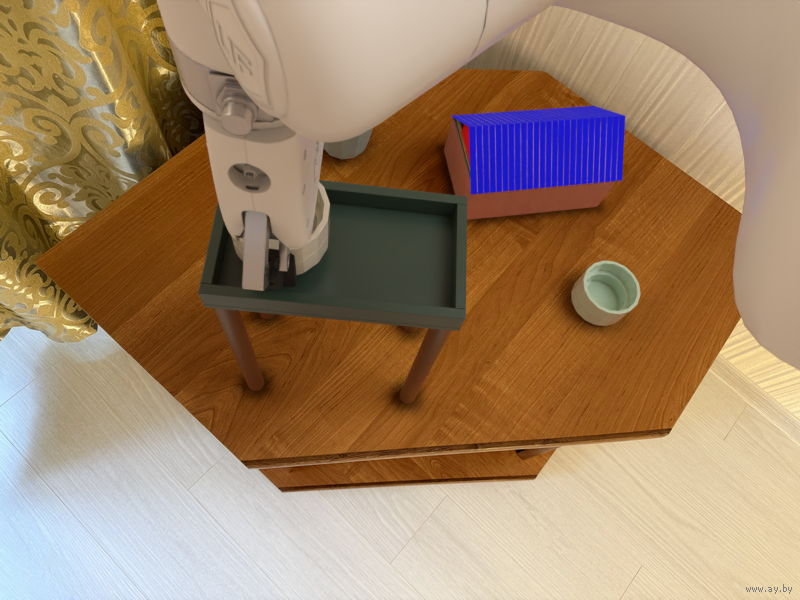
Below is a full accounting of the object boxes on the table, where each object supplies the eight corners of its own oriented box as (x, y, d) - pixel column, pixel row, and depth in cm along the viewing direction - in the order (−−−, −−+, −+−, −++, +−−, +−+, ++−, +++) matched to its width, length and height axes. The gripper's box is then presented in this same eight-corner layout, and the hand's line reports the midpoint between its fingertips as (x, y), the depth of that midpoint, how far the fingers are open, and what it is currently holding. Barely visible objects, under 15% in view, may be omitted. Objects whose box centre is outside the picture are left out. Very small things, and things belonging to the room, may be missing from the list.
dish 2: (625, 329, 74) (643, 316, 70) (571, 324, 74) (585, 310, 70) (620, 279, 77) (637, 263, 73) (568, 274, 76) (581, 257, 72)
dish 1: (323, 285, 44) (323, 256, 39) (226, 275, 43) (216, 245, 39) (333, 204, 46) (334, 169, 42) (242, 194, 46) (234, 158, 42)
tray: (415, 405, 67) (465, 319, 43) (245, 391, 66) (197, 293, 42) (419, 319, 72) (467, 196, 47) (259, 303, 70) (224, 168, 46)
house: (441, 148, 82) (458, 87, 72) (574, 137, 86) (610, 78, 75) (459, 222, 78) (480, 169, 67) (600, 208, 81) (641, 155, 71)
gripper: (315, 212, 25) (319, 349, 41) (352, -66, 32) (343, 145, 48) (129, 191, 24) (208, 339, 40) (209, -87, 31) (249, 134, 47)
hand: (281, 233), depth 44 cm, fingers closed on dish 1, 7 cm apart
